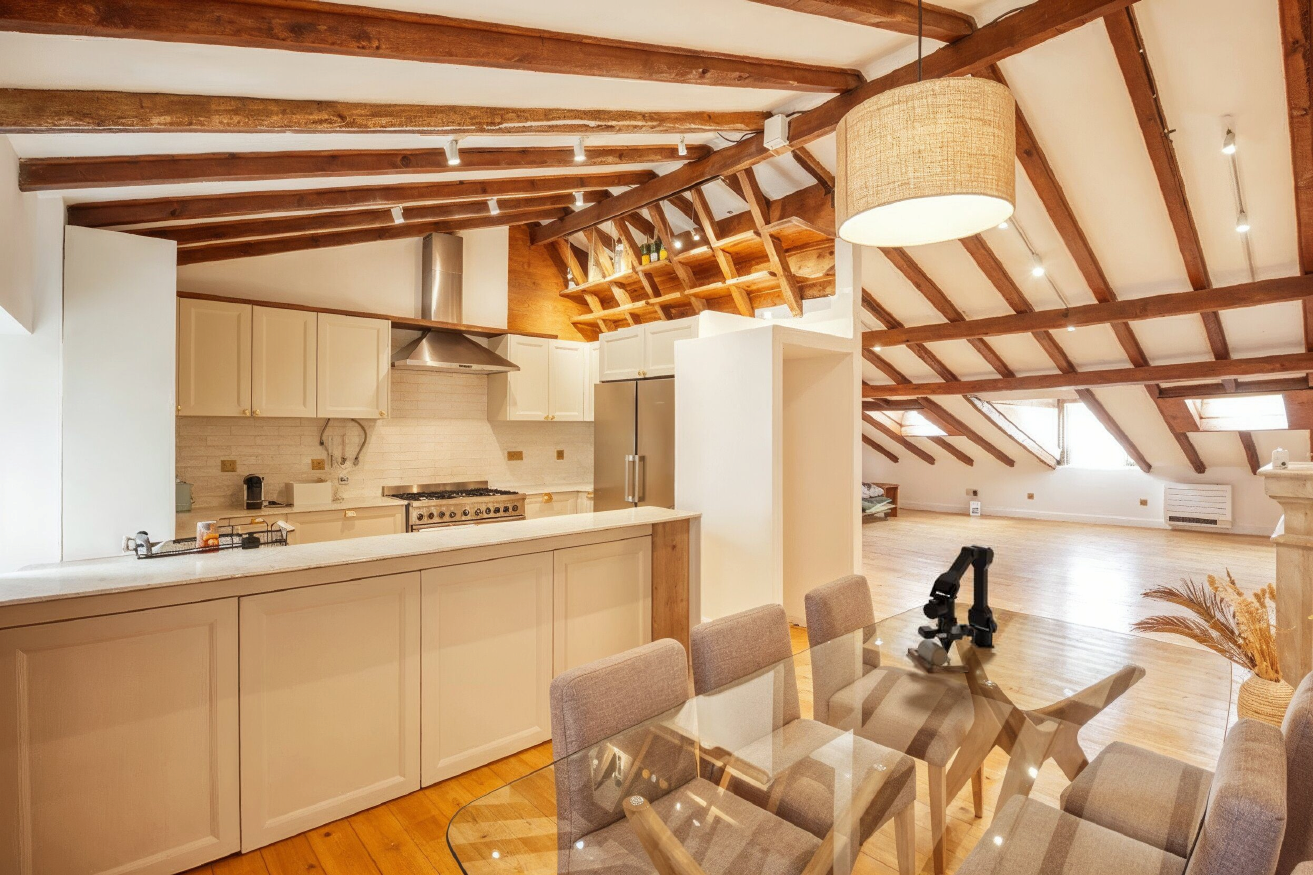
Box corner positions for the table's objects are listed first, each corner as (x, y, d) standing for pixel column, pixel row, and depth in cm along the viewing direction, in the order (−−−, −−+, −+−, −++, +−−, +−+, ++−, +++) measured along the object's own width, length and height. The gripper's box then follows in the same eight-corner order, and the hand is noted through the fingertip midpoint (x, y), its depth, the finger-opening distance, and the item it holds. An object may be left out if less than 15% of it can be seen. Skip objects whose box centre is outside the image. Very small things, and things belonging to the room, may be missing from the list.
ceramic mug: (932, 668, 226) (933, 647, 225) (916, 659, 234) (917, 639, 233) (956, 665, 229) (957, 644, 228) (940, 656, 237) (941, 636, 236)
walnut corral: (945, 652, 240) (945, 647, 240) (969, 672, 223) (969, 666, 223) (907, 653, 239) (907, 648, 239) (928, 673, 222) (928, 667, 222)
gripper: (931, 621, 221) (931, 665, 223) (983, 619, 222) (983, 661, 223) (917, 610, 232) (917, 651, 234) (966, 607, 233) (966, 648, 234)
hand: (946, 653), depth 231 cm, fingers closed
